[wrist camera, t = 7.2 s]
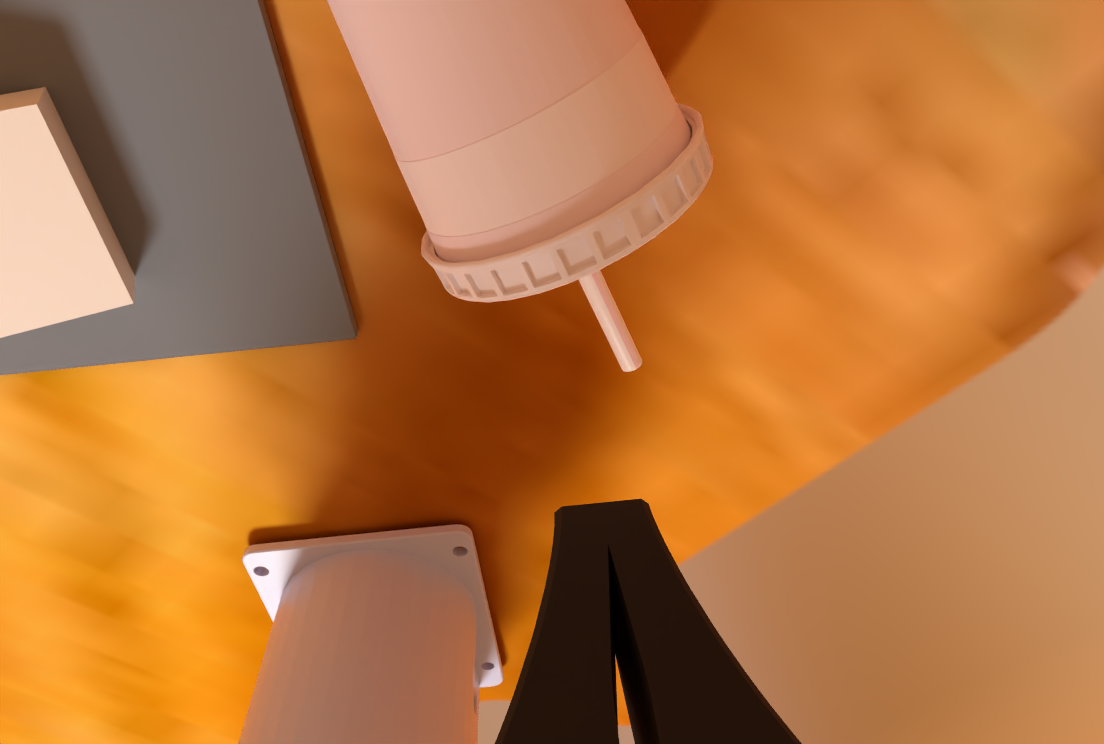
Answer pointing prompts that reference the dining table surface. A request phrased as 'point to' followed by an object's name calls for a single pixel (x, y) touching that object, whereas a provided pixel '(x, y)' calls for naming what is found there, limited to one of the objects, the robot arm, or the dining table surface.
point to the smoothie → (528, 140)
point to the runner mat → (181, 178)
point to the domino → (51, 224)
